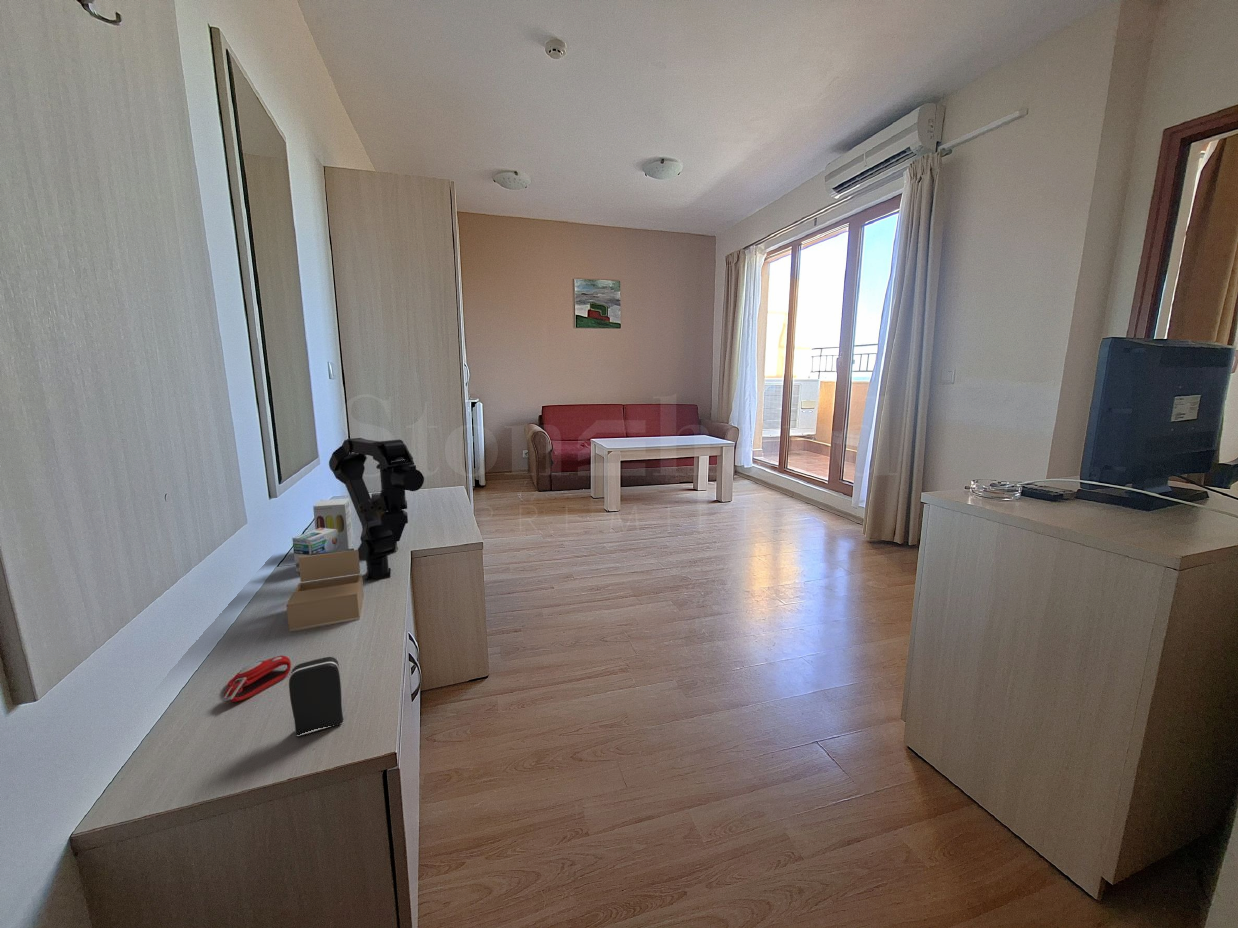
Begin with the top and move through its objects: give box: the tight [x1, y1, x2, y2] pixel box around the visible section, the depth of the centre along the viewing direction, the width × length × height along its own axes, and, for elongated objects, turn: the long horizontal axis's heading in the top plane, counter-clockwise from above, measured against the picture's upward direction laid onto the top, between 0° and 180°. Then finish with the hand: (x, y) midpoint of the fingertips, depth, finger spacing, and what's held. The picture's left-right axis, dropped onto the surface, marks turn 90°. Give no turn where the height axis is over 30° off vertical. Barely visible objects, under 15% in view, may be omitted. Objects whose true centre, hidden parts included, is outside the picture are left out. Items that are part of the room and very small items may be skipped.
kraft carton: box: [285, 573, 365, 633], centre depth 114 cm, size 14×14×7 cm
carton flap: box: [298, 548, 361, 583], centre depth 123 cm, size 6×13×7 cm
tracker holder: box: [221, 655, 292, 703], centre depth 87 cm, size 12×4×10 cm
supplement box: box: [312, 497, 354, 550], centre depth 156 cm, size 10×9×17 cm
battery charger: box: [288, 656, 345, 736], centre depth 76 cm, size 7×4×11 cm, turn 120°
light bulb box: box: [291, 528, 339, 573], centre depth 142 cm, size 11×7×11 cm, turn 169°
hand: (397, 541), depth 128 cm, fingers closed
